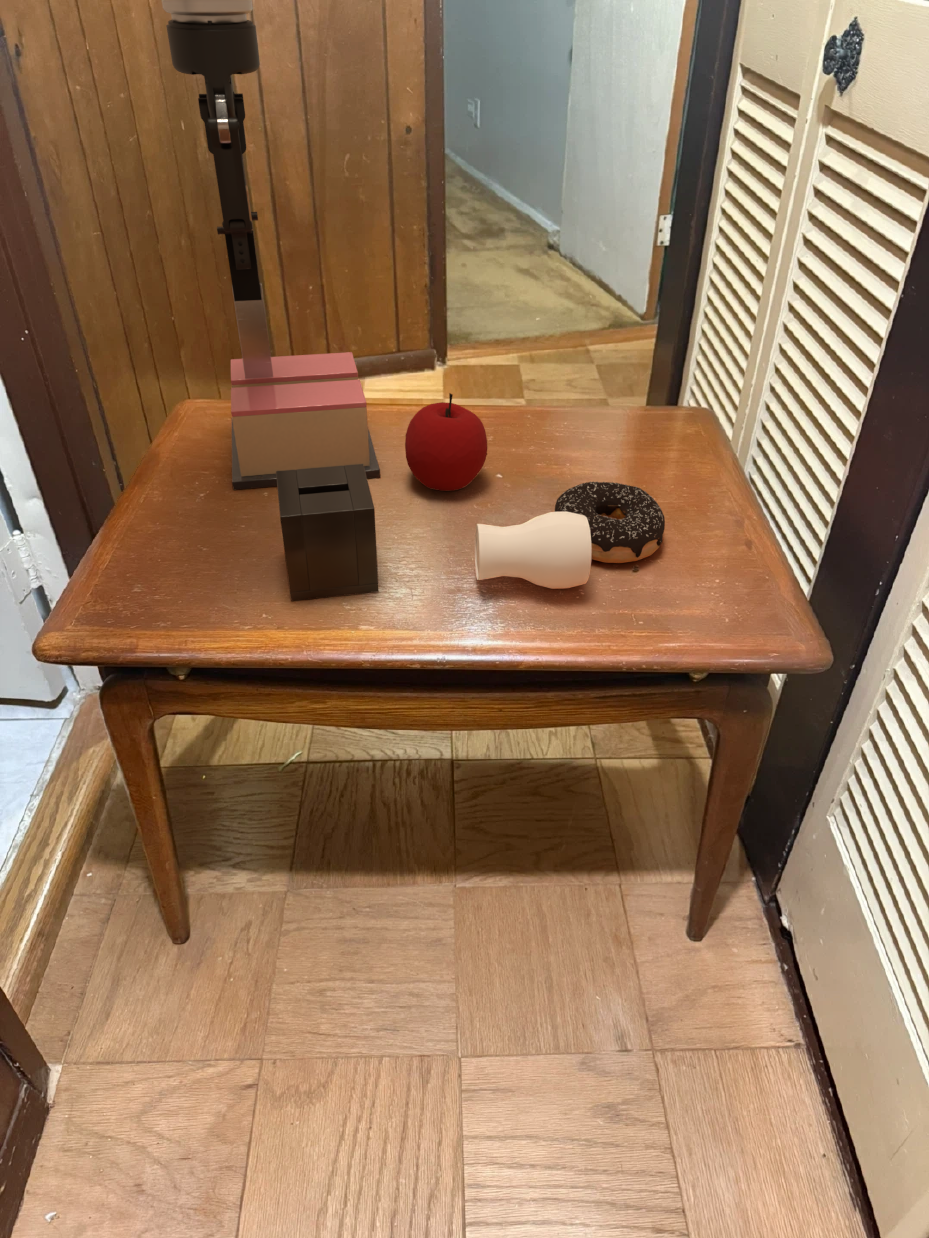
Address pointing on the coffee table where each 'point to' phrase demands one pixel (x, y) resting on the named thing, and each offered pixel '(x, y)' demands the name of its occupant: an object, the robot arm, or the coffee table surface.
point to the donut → (616, 519)
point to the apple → (445, 446)
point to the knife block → (328, 531)
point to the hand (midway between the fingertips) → (247, 294)
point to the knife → (253, 334)
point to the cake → (298, 419)
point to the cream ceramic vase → (537, 550)
